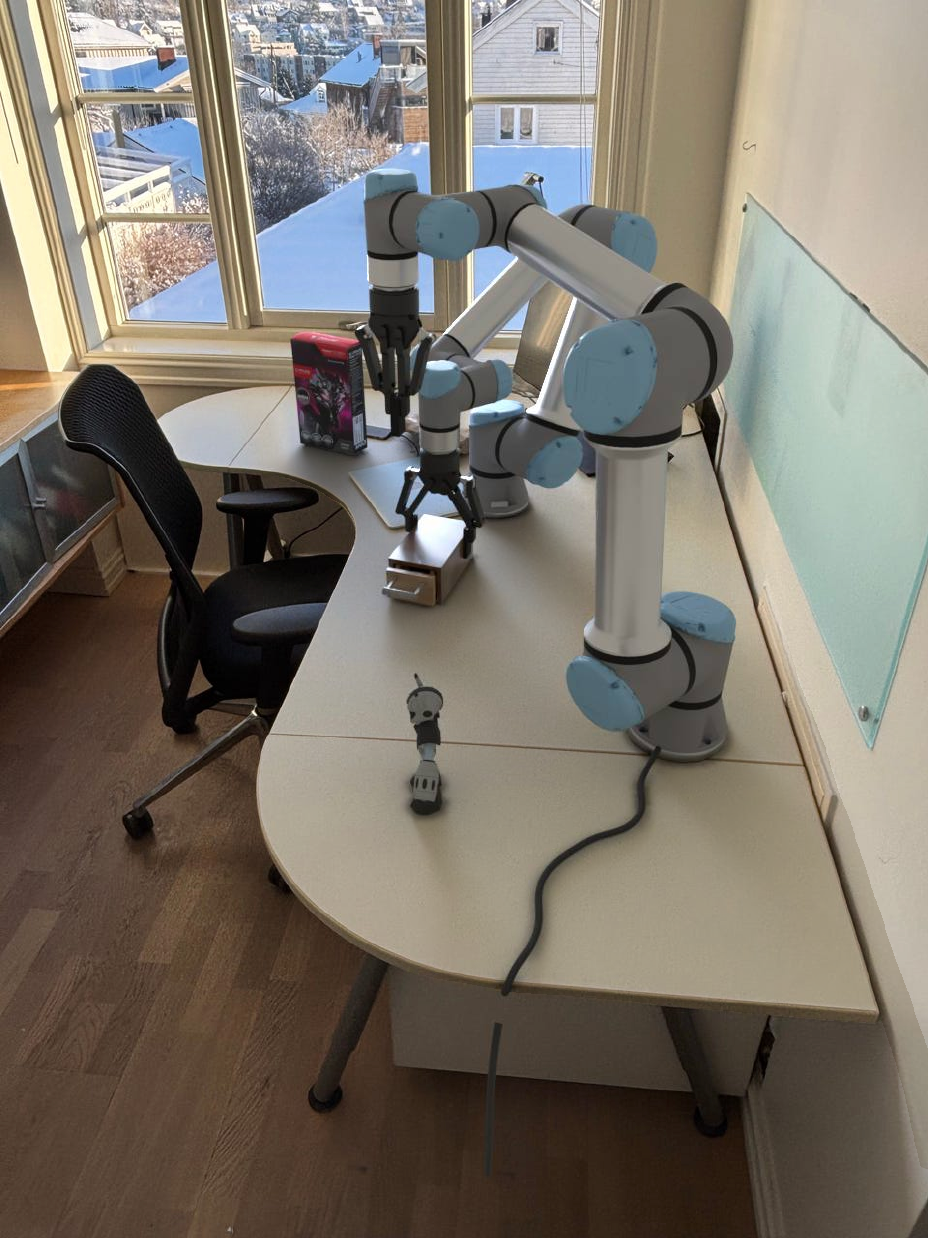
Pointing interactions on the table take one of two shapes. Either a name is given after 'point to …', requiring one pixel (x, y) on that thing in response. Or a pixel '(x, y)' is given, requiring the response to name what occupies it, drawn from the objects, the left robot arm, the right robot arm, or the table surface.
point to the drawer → (411, 584)
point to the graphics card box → (329, 392)
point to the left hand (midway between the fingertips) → (440, 550)
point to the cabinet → (434, 551)
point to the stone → (413, 429)
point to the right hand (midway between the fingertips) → (398, 433)
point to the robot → (426, 746)
